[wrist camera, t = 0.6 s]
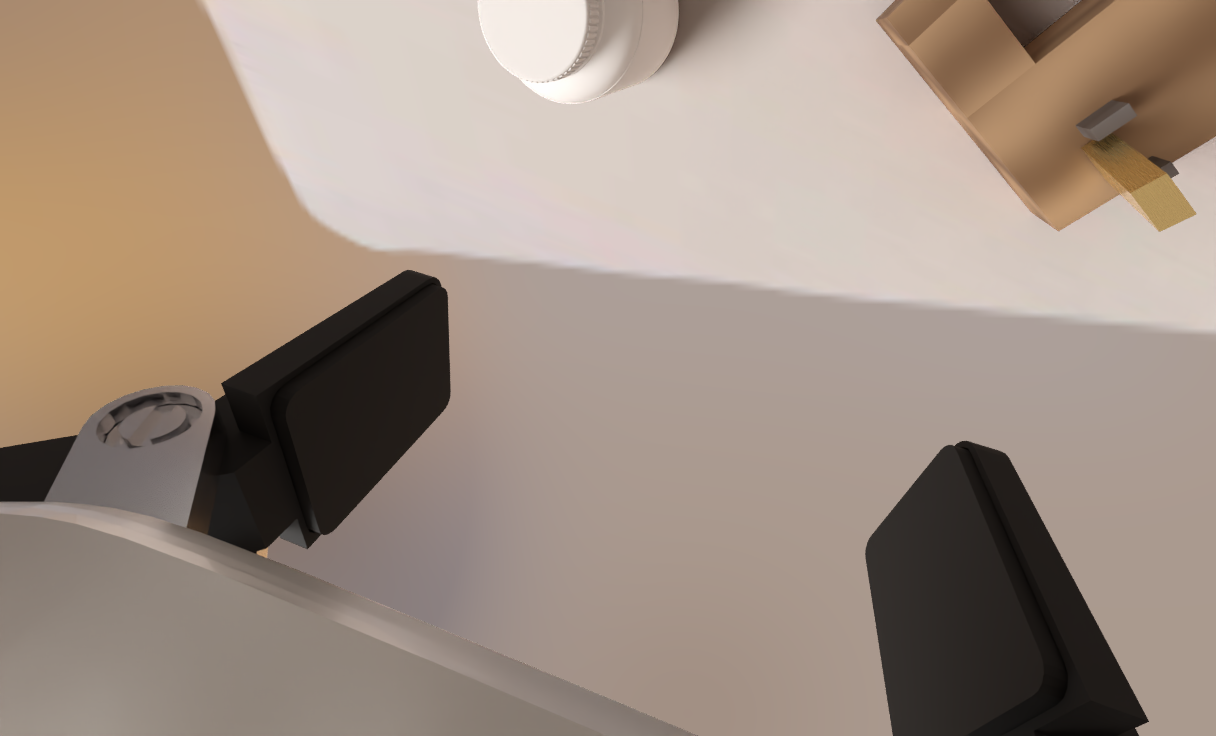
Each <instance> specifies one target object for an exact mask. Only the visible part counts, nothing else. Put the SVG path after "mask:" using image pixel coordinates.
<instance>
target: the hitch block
mask: <svg viewBox="0 0 1216 736" xmlns="http://www.w3.org/2000/svg"><path fill="white" fill-rule="evenodd" d="M876 21H877V22H878V24H879V25H880V26H881V27H882V29H883V30H884V31H885V32H886V34H887V35H888V36H889V37H890V39H891V40H892V41H893V42H894V43H895V45H896V46H897V47H898V48H899V50H900V51H901V52H902V53H903V55H904V56H905V57H906V58H907V59H908V61H909V62H910V63H911V64H912V66H913V67H914V68H915V69H916V71H917V72H918V73H919V74H920V76H921V77H922V78H923V79H924V80H925V82H926V83H927V84H928V85H929V87H930V88H931V89H932V90H933V92H934V93H935V94H936V95H937V96H938V98H939V99H940V100H941V101H942V103H943V104H944V105H945V106H946V108H947V109H948V110H949V111H950V113H951V114H952V115H953V116H954V117H955V119H956V120H957V121H958V122H959V124H960V125H961V126H962V127H963V129H964V130H965V131H966V132H967V133H968V135H969V136H970V137H971V138H972V140H973V141H974V142H975V143H976V145H977V146H978V147H979V148H980V150H981V151H982V152H983V153H984V154H985V156H986V157H987V158H988V159H989V161H990V162H991V163H992V164H993V166H994V167H995V168H996V169H997V170H998V172H999V173H1000V174H1001V175H1002V177H1003V178H1004V179H1005V180H1006V182H1007V183H1008V184H1009V185H1010V187H1011V188H1012V189H1013V190H1014V191H1015V193H1016V194H1017V195H1018V196H1019V198H1020V199H1021V200H1022V201H1023V203H1024V204H1025V205H1026V206H1027V207H1028V209H1029V210H1030V211H1031V212H1032V213H1033V214H1035V215H1036V216H1037V217H1039V218H1040V219H1042V220H1043V221H1044V222H1046V223H1047V224H1049V225H1050V226H1052V227H1053V228H1054V229H1056V230H1057V231H1060V230H1061V229H1063V228H1065V227H1066V226H1068V225H1070V224H1071V223H1073V222H1075V221H1076V220H1078V219H1080V218H1081V217H1083V216H1085V215H1086V214H1088V213H1089V212H1091V211H1093V210H1094V209H1096V208H1098V207H1099V206H1101V205H1103V204H1104V203H1106V202H1108V201H1109V200H1111V199H1113V198H1114V197H1116V196H1118V195H1119V193H1118V192H1117V191H1116V190H1115V189H1114V188H1113V187H1112V186H1111V185H1110V184H1109V183H1108V182H1107V181H1106V180H1105V179H1104V178H1103V176H1102V175H1101V174H1100V172H1099V171H1098V170H1097V168H1096V167H1095V166H1094V164H1093V163H1092V162H1091V160H1090V159H1089V158H1088V157H1087V155H1086V154H1085V153H1084V151H1083V150H1082V149H1081V147H1083V146H1085V145H1086V144H1088V143H1090V142H1091V141H1093V140H1096V141H1100V140H1102V139H1103V138H1105V137H1106V136H1108V135H1109V134H1111V133H1113V134H1115V135H1116V136H1117V137H1119V138H1120V139H1121V140H1123V141H1124V142H1125V143H1127V144H1128V145H1129V146H1131V147H1132V148H1133V149H1135V150H1136V151H1138V152H1139V153H1140V154H1142V155H1143V156H1144V157H1146V158H1147V159H1148V160H1150V161H1151V162H1152V163H1154V164H1155V165H1156V166H1158V167H1159V168H1160V169H1162V170H1163V171H1165V172H1166V173H1167V174H1168V175H1169V177H1170V178H1172V177H1174V176H1176V175H1177V174H1179V172H1178V171H1177V169H1176V168H1175V167H1174V165H1173V164H1172V162H1174V161H1176V160H1177V159H1179V158H1181V157H1182V156H1184V155H1186V154H1187V153H1189V152H1190V151H1192V150H1194V149H1195V148H1197V147H1199V146H1200V145H1202V144H1204V143H1205V142H1207V141H1209V140H1210V139H1212V138H1214V137H1215V136H1216V0H1082V1H1080V2H1079V3H1078V4H1077V5H1076V6H1074V7H1073V8H1072V9H1071V10H1069V11H1068V12H1067V13H1066V14H1065V15H1063V16H1062V17H1061V18H1060V19H1059V20H1057V21H1056V22H1055V23H1054V24H1052V25H1051V26H1050V27H1049V28H1048V29H1046V30H1045V31H1044V32H1043V33H1041V34H1040V35H1039V36H1038V37H1037V38H1035V39H1034V40H1033V41H1032V42H1030V43H1029V44H1028V45H1027V46H1026V47H1024V48H1023V47H1022V45H1021V44H1020V43H1019V41H1018V40H1017V39H1016V37H1015V36H1014V35H1013V33H1012V32H1011V31H1010V29H1009V28H1008V27H1007V25H1006V24H1005V23H1004V21H1003V20H1002V19H1001V17H1000V16H999V15H998V13H997V12H996V11H995V9H994V8H993V7H992V5H991V4H990V3H989V1H988V0H895V1H894V2H893V3H892V4H891V5H890V6H889V7H888V8H887V9H886V10H885V11H884V12H883V13H882V14H881V15H880V16H879V17H878V18H877V19H876Z"/></svg>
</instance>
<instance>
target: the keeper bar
mask: <svg viewBox="0 0 1216 736" xmlns="http://www.w3.org/2000/svg"><path fill="white" fill-rule="evenodd" d="M1081 149H1082V150H1083V151H1084V153H1085V154H1086V155H1087V157H1088V158H1089V159H1090V160H1091V162H1092V163H1093V164H1094V166H1095V167H1096V168H1097V170H1098V171H1099V172H1100V174H1101V175H1102V176H1103V178H1104V179H1105V180H1106V181H1107V182H1108V183H1109V184H1110V185H1111V186H1112V187H1113V188H1114V189H1115V190H1116V191H1117V192H1118V193H1119V194H1120V195H1121V196H1123V197H1124V198H1125V199H1126V200H1127V201H1128V202H1129V203H1130V204H1131V205H1132V206H1133V207H1134V208H1135V209H1136V210H1137V211H1138V212H1139V213H1140V214H1141V215H1142V216H1143V217H1144V218H1145V219H1146V220H1148V221H1149V222H1150V223H1151V224H1152V225H1153V226H1154V227H1155V228H1156V229H1157V230H1158V231H1159V232H1160V231H1162V230H1165V229H1167V228H1169V227H1171V226H1173V225H1175V224H1177V223H1179V222H1181V221H1183V220H1185V219H1187V218H1190V217H1192V216H1194V215H1196V212H1195V211H1194V210H1193V208H1192V207H1191V206H1190V204H1189V203H1188V201H1187V200H1186V199H1185V197H1184V196H1183V195H1182V193H1181V192H1180V190H1179V189H1178V188H1177V186H1176V185H1175V184H1174V182H1173V181H1172V179H1171V178H1170V177H1169V175H1168V174H1167V173H1166V172H1165V171H1163V170H1162V169H1160V168H1159V167H1158V166H1156V165H1155V164H1154V163H1152V162H1151V161H1150V160H1148V159H1147V158H1146V157H1144V156H1143V155H1142V154H1140V153H1139V152H1138V151H1136V150H1135V149H1133V148H1132V147H1131V146H1129V145H1128V144H1127V143H1125V142H1124V141H1123V140H1121V139H1120V138H1119V137H1117V136H1116V135H1115V134H1113V133H1111V134H1109V135H1108V136H1106V137H1105V138H1103V139H1102V140H1100V141H1096V140H1093V141H1091V142H1090V143H1088V144H1086V145H1085V146H1083V147H1081Z"/></svg>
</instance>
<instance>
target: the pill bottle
mask: <svg viewBox="0 0 1216 736" xmlns="http://www.w3.org/2000/svg"><path fill="white" fill-rule="evenodd" d="M478 14H479V20H480V24H481V29H482V32H483V35H484V37H485V40H486V43H487V44H488V47H489V49H490V50H491V51H492V54H493V55H494V56H495V58H496V59H497V61H499V63H500V64H501V65H502V66H503V67H504V68H505V69H506V70H508V72H509V73H512V74H513V75H514V76H515V77H518V78H519V79H520V80H521V81H522V82H523V83H524V84H525V85H526V86H527V87H529V88H530V89H531V90H533V91H534V92H536V93H537V94H539V95H540V96H542V97H544V98H546V99H549V100H551V101H554V102H558V103H564V104H579V103H585V102H589V101H592V100H595V99H598V98H601V97H603V96H606V95H609V94H612V93H615V92H617V91H620V90H623V89H626V88H628V87H631V86H634V85H637V84H639V83H641V82H643V81H644V80H646V79H647V78H649V77H650V76H651V75H652V74H654V73H655V72H656V71H657V70H658V68H659V67H660V66H661V65H662V64H663V62H664V61H665V59H666V58H667V56H668V54H669V52H670V50H671V48H672V46H673V43H674V40H675V37H676V33H677V28H678V20H679V5H678V0H478Z"/></svg>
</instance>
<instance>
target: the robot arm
mask: <svg viewBox="0 0 1216 736" xmlns="http://www.w3.org/2000/svg"><path fill="white" fill-rule="evenodd" d="M221 384H222V386H223V389H224V392H225V395H224V396H222V397H221V398H219V399H217V400H216V401H214V399H213V398H212V397H211V396H210V394H209V393H207V392H205V391H203V390H200V389H198V388H194V387H188V386H161V387H155V388H149V389H144V390H141V391H138V392H134V393H131V394H128V395H125V396H123V397H121V398H119V399H117V400H114V401H112V402H110V403H108V404H106V405H105V406H104V407H102V408H101V409H99V410H98V411H97V412H95V413H94V414H93V415H91V417H90V418H89V419H88V420H87V422H86V423H85V424H84V425H83V427H82V429H81V431H80V432H79V434H78V435H75V436H70V437H63V438H57V439H51V440H46V441H39V442H33V443H27V444H21V445H15V446H10V447H3V448H0V736H698V735H695V734H693V733H691V732H688V731H686V730H683V729H681V728H679V727H676V726H674V725H671V724H669V723H667V722H664V721H662V720H659V719H657V718H655V717H652V716H650V715H647V714H645V713H643V712H640V711H638V710H635V709H633V708H630V707H628V706H626V705H623V704H621V703H619V702H616V701H614V700H611V699H609V698H607V697H604V696H602V695H599V694H597V693H594V692H592V691H589V690H587V689H585V688H583V687H580V686H578V685H575V684H573V683H571V682H568V681H566V680H563V679H561V678H559V677H556V676H554V675H551V674H549V673H547V672H544V671H541V670H539V669H537V668H535V667H532V666H530V665H527V664H525V663H522V662H520V661H518V660H515V659H513V658H510V657H508V656H506V655H503V654H501V653H498V652H496V651H494V650H491V649H489V648H486V647H484V646H481V645H479V644H477V643H474V642H472V641H470V640H467V639H464V638H462V637H459V636H457V635H455V634H452V633H450V632H448V631H445V630H443V629H440V628H438V627H435V626H433V625H430V624H428V623H426V622H423V621H421V620H418V619H416V618H414V617H411V616H408V615H406V614H404V613H401V612H399V611H396V610H394V609H391V608H389V607H387V606H384V605H382V604H379V603H377V602H374V601H372V600H370V599H367V598H365V597H362V596H360V595H357V594H355V593H353V592H350V591H348V590H345V589H343V588H340V587H338V586H335V585H333V584H330V583H328V582H325V581H323V580H321V579H318V578H316V577H314V576H311V575H309V574H306V573H304V572H301V571H299V570H296V569H294V568H290V567H289V566H286V565H283V564H281V563H278V562H276V561H273V560H270V559H268V558H267V553H268V546H269V545H270V544H272V543H273V542H274V540H276V539H277V538H278V536H280V538H281V539H284V540H286V541H289V542H291V543H294V544H296V545H298V546H301V547H303V548H306V549H308V548H309V547H310V546H311V545H312V544H313V543H314V542H315V541H316V540H317V538H318V537H319V536H320V535H321V534H323V535H327V534H329V533H330V532H332V531H334V530H335V529H336V528H337V527H338V525H339V524H340V523H341V522H342V521H343V520H344V519H345V518H346V517H347V516H348V515H349V513H350V512H351V511H352V510H353V509H354V508H355V507H356V506H357V504H359V503H360V501H361V500H362V499H363V498H364V497H365V496H366V495H367V494H368V493H369V492H370V490H372V488H373V487H374V486H375V485H376V484H377V483H378V482H379V481H380V480H381V479H382V477H383V476H384V475H385V474H386V473H387V472H388V471H389V470H390V469H391V468H392V466H393V465H394V464H395V463H396V462H397V461H398V460H399V459H400V458H401V457H402V456H403V455H404V453H405V452H406V451H407V450H408V449H409V448H410V447H411V446H412V445H413V444H414V443H415V441H416V440H417V439H418V438H419V437H420V436H421V435H422V434H423V433H424V432H425V430H426V429H427V428H428V427H429V426H430V425H431V424H432V423H433V422H434V421H435V420H436V418H437V417H438V416H439V415H440V414H441V413H442V412H443V411H444V409H445V408H446V406H447V405H448V402H449V399H450V360H449V326H448V295H447V291H446V289H444V288H442V287H441V284H440V281H439V280H438V279H437V278H435V277H432V276H428V275H425V274H422V273H418V272H415V271H412V270H406V271H404V272H402V273H401V274H399V275H397V276H396V277H394V278H392V279H391V280H389V281H387V282H386V283H384V284H383V285H381V286H379V287H378V288H376V289H374V290H373V291H371V292H369V293H368V294H366V295H365V296H363V297H361V298H360V299H358V300H356V301H355V302H353V303H351V304H350V305H348V306H347V307H345V308H343V309H342V310H340V311H338V312H337V313H335V314H334V315H332V316H330V317H329V318H327V319H325V320H324V321H322V322H321V323H319V324H317V325H316V326H314V327H312V328H311V329H309V330H307V331H306V332H304V333H303V334H301V335H299V336H298V337H296V338H294V339H293V340H291V341H290V342H288V343H286V344H285V345H283V346H281V347H280V348H278V349H276V350H275V351H273V352H272V353H270V354H268V355H267V356H265V357H263V358H262V359H260V360H259V361H257V362H255V363H254V364H252V365H250V366H249V367H247V368H246V369H244V370H242V371H241V372H239V373H237V374H236V375H234V376H232V377H231V378H229V379H228V380H226V381H224V382H223V383H221ZM865 555H866V563H867V570H868V577H869V583H870V589H871V596H872V602H873V609H874V616H875V622H876V629H877V635H878V642H879V648H880V655H881V660H882V668H883V674H884V681H885V687H886V694H887V700H888V706H889V713H890V719H891V726H892V732H893V736H1139V735H1138V733H1137V731H1136V729H1135V727H1138V726H1140V725H1142V724H1145V723H1147V722H1149V721H1148V719H1147V717H1146V715H1145V713H1144V711H1143V709H1142V707H1141V706H1140V704H1139V702H1138V700H1137V698H1136V696H1135V694H1134V692H1133V690H1132V689H1131V687H1130V685H1129V683H1128V681H1127V679H1126V677H1125V675H1124V674H1123V672H1122V670H1121V668H1120V666H1119V664H1118V662H1117V660H1116V659H1115V657H1114V655H1113V653H1112V651H1111V649H1110V647H1109V645H1108V643H1107V642H1106V640H1105V638H1104V636H1103V634H1102V632H1101V630H1100V628H1099V626H1098V625H1097V623H1096V621H1095V619H1094V617H1093V615H1092V614H1091V611H1090V610H1089V608H1088V606H1087V604H1086V602H1085V600H1084V598H1083V596H1082V594H1081V593H1080V591H1079V589H1078V587H1077V585H1076V583H1075V581H1074V579H1073V578H1072V576H1071V574H1070V572H1069V570H1068V568H1067V566H1066V564H1065V563H1064V561H1063V559H1062V557H1061V555H1060V553H1059V551H1058V549H1057V547H1056V546H1055V544H1054V542H1053V540H1052V538H1051V536H1050V534H1049V532H1048V530H1047V529H1046V527H1045V525H1044V523H1043V521H1042V519H1041V517H1040V516H1039V514H1038V512H1037V510H1036V508H1035V506H1034V504H1033V502H1032V500H1031V499H1030V497H1029V495H1028V493H1027V491H1026V489H1025V487H1024V485H1023V483H1022V482H1021V480H1020V478H1019V476H1018V474H1017V472H1016V470H1015V468H1014V466H1013V465H1012V463H1011V461H1010V459H1009V457H1008V456H1007V455H1006V454H1005V453H1003V452H1001V451H998V450H995V449H992V448H988V447H985V446H982V445H979V444H975V443H972V442H969V441H962V442H959V443H957V444H956V445H955V446H953V445H948V446H945V447H944V448H943V449H942V450H940V452H939V453H938V454H937V456H936V457H935V458H934V459H933V460H932V462H931V463H930V464H929V465H928V467H927V468H926V469H925V470H924V471H923V473H922V474H921V475H920V476H919V478H918V479H917V480H916V481H915V483H914V484H913V485H912V486H911V488H910V489H909V490H908V491H907V492H906V494H905V495H904V496H903V497H902V499H901V500H900V501H899V502H898V503H897V505H896V506H895V507H894V508H893V510H892V511H891V512H890V513H889V515H888V516H887V517H886V518H885V519H884V521H883V522H882V523H881V525H880V526H879V527H878V528H877V530H876V531H875V532H874V533H873V534H872V536H871V537H870V538H869V540H868V543H867V547H866V553H865Z"/></svg>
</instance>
